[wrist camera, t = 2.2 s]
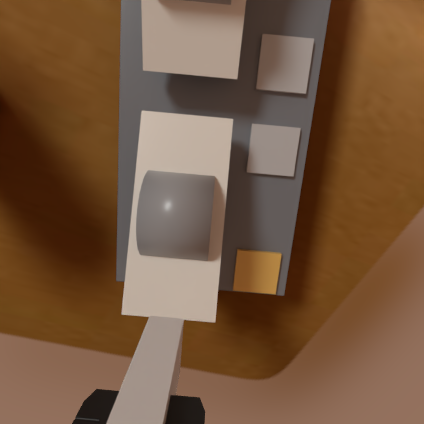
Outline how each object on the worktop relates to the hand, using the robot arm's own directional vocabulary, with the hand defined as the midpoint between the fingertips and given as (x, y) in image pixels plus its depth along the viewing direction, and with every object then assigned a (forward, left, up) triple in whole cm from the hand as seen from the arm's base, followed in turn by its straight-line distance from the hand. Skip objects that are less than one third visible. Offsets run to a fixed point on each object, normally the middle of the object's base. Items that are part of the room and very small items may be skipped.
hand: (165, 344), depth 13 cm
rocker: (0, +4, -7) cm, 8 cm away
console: (+1, +11, -13) cm, 17 cm away
